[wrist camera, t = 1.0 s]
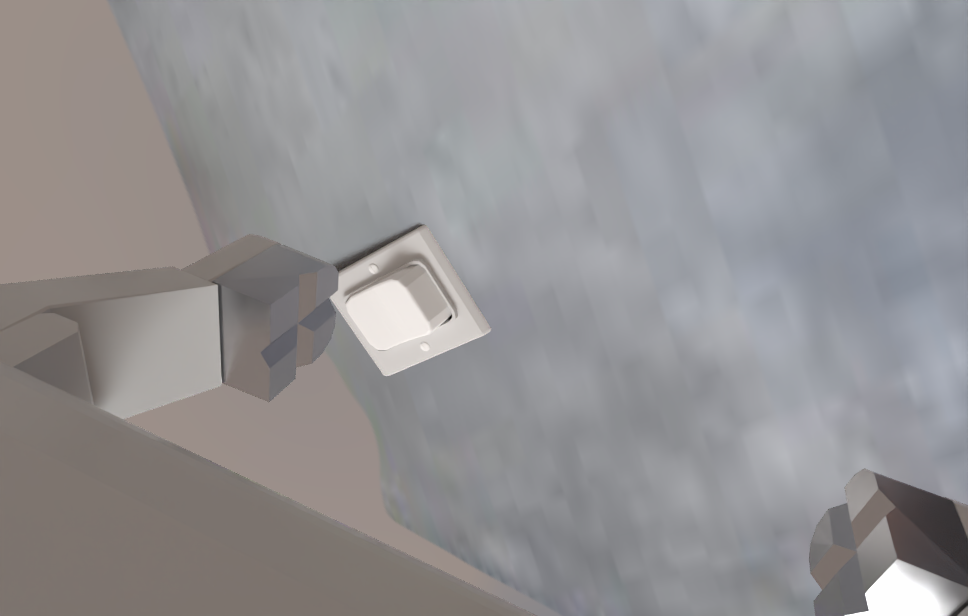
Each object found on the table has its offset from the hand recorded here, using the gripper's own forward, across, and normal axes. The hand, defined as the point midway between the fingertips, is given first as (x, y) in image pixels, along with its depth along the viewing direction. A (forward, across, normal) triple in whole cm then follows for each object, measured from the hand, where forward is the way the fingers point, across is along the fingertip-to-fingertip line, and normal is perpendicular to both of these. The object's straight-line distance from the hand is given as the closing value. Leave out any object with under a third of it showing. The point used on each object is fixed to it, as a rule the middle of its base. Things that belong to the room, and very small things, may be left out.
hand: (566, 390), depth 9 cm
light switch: (+36, -17, -25) cm, 47 cm away
